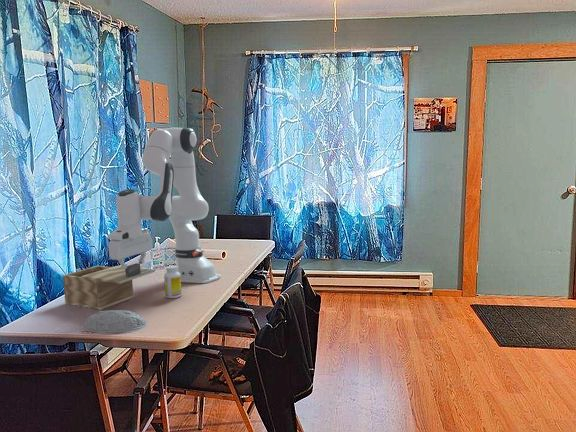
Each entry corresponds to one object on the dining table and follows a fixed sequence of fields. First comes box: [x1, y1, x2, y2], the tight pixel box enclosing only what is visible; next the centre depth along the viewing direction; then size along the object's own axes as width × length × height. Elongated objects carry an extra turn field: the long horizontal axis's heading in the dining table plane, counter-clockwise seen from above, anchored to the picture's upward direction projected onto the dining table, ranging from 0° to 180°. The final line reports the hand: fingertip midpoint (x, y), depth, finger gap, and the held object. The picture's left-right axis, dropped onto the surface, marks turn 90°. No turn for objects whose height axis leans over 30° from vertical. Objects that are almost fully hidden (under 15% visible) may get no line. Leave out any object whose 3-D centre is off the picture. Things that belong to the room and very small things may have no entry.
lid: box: [81, 262, 156, 284], centre depth 215 cm, size 21×19×5 cm
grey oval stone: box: [82, 309, 148, 334], centre depth 191 cm, size 16×25×7 cm, turn 80°
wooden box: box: [62, 265, 134, 311], centre depth 221 cm, size 20×18×12 cm
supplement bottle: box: [163, 265, 183, 299], centre depth 224 cm, size 7×7×13 cm
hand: (133, 266), depth 211 cm, fingers open, 8 cm apart
